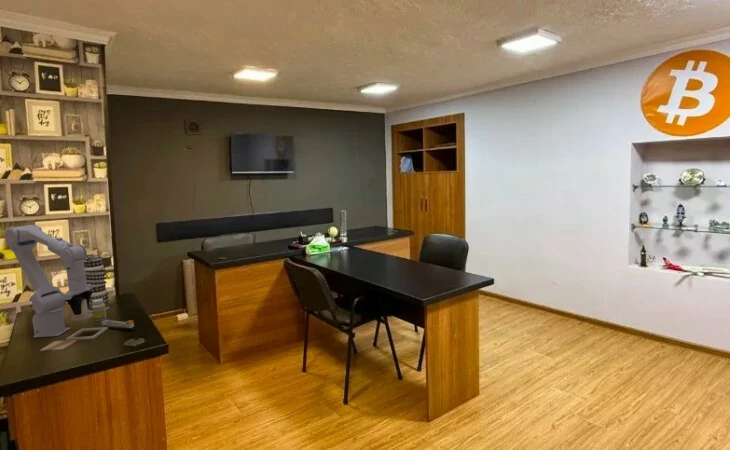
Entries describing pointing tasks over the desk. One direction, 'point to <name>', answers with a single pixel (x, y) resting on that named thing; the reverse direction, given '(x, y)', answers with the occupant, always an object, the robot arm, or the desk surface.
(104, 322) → the clip
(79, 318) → the plug
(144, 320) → the desk surface
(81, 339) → the socket
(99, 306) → the supplement bottle
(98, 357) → the desk surface
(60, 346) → the coaster
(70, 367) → the desk surface
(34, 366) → the desk surface
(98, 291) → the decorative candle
